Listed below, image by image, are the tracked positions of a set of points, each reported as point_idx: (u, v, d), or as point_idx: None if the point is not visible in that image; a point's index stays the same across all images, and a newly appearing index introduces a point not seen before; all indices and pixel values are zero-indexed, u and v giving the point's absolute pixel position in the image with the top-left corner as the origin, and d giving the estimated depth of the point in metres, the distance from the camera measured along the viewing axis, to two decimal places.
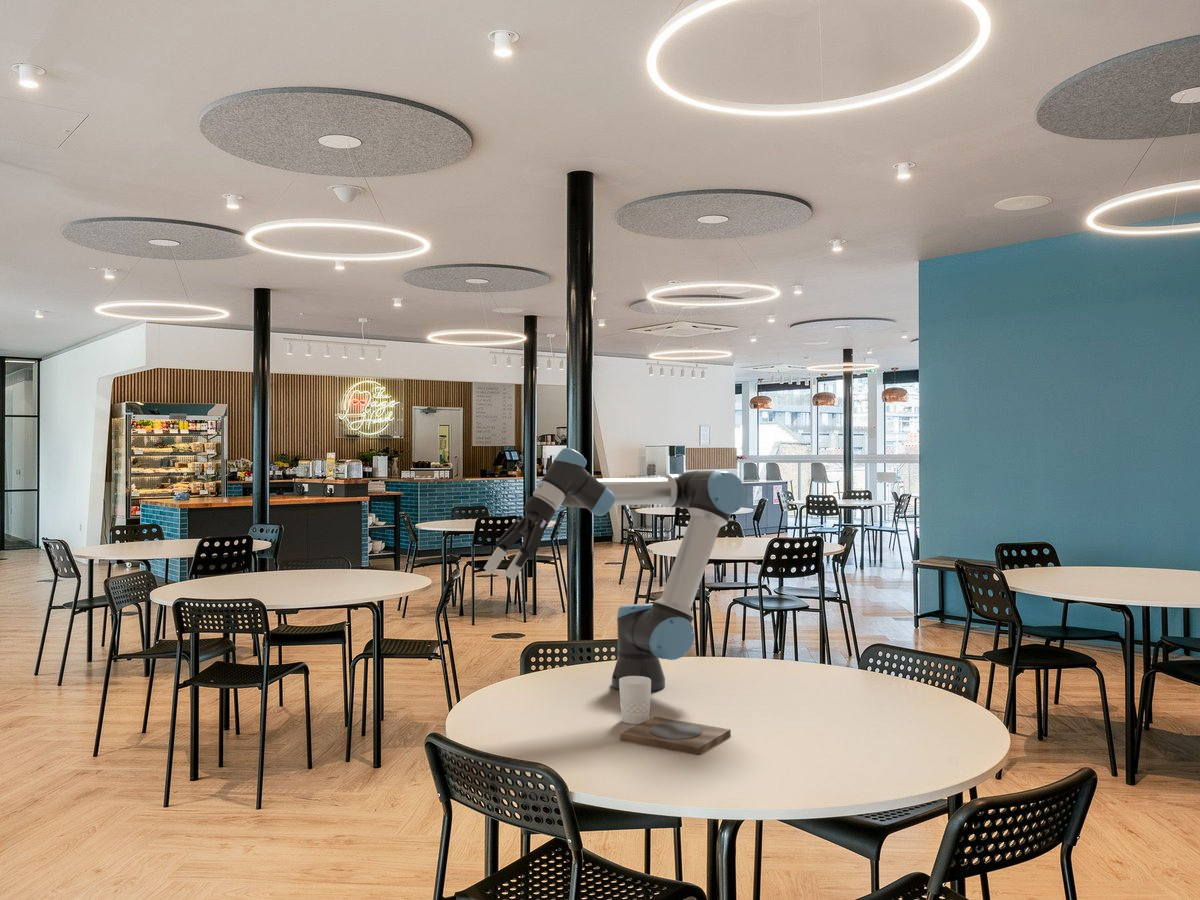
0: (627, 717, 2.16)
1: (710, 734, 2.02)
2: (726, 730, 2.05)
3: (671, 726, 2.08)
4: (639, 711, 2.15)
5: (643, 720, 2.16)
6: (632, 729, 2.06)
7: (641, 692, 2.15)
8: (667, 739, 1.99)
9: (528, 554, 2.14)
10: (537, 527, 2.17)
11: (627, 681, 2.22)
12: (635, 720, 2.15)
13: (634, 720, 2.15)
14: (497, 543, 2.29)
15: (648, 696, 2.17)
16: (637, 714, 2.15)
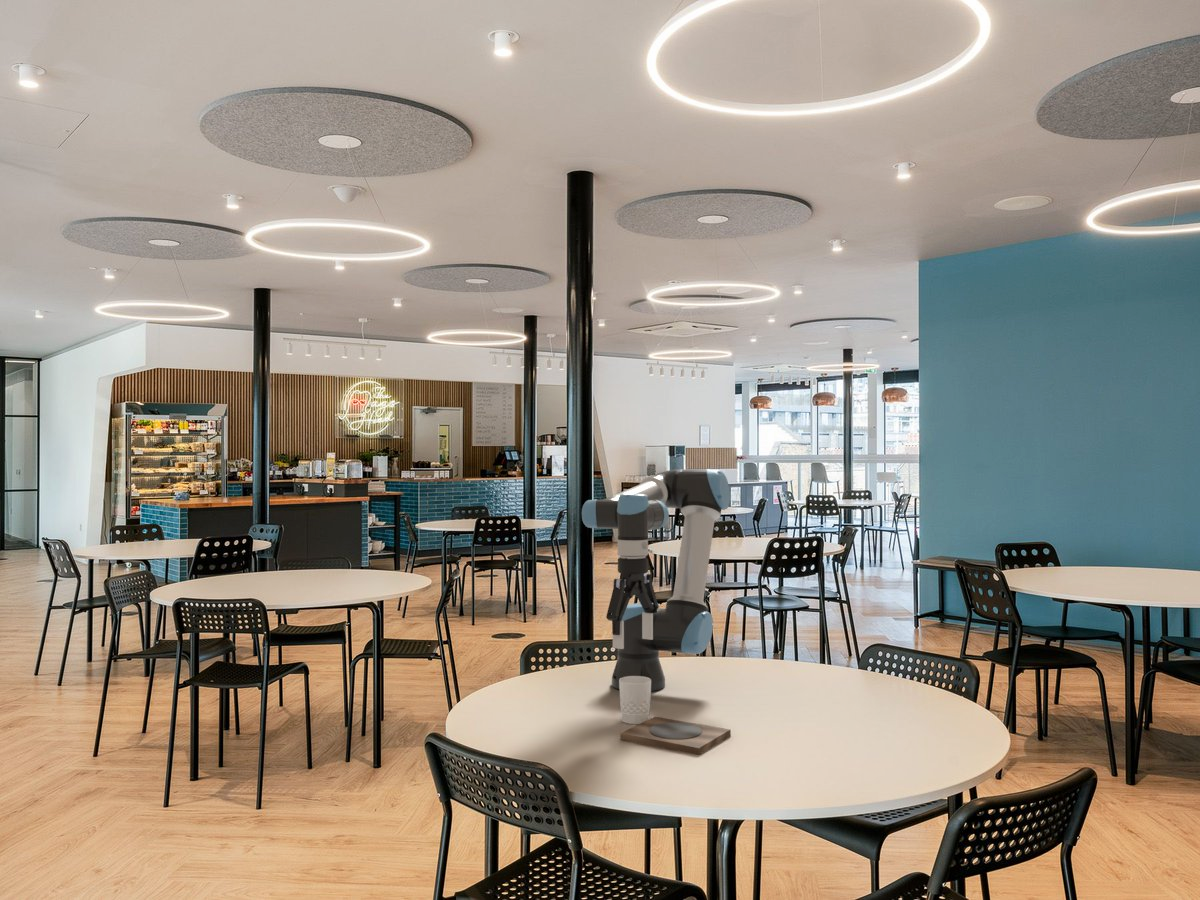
0: (627, 717, 2.16)
1: (710, 734, 2.02)
2: (726, 730, 2.05)
3: (671, 726, 2.08)
4: (639, 711, 2.15)
5: (643, 720, 2.16)
6: (632, 729, 2.06)
7: (641, 692, 2.15)
8: (667, 739, 1.99)
9: None
10: None
11: (627, 681, 2.22)
12: (635, 720, 2.15)
13: (634, 720, 2.15)
14: (616, 618, 2.11)
15: (648, 696, 2.17)
16: (637, 714, 2.15)
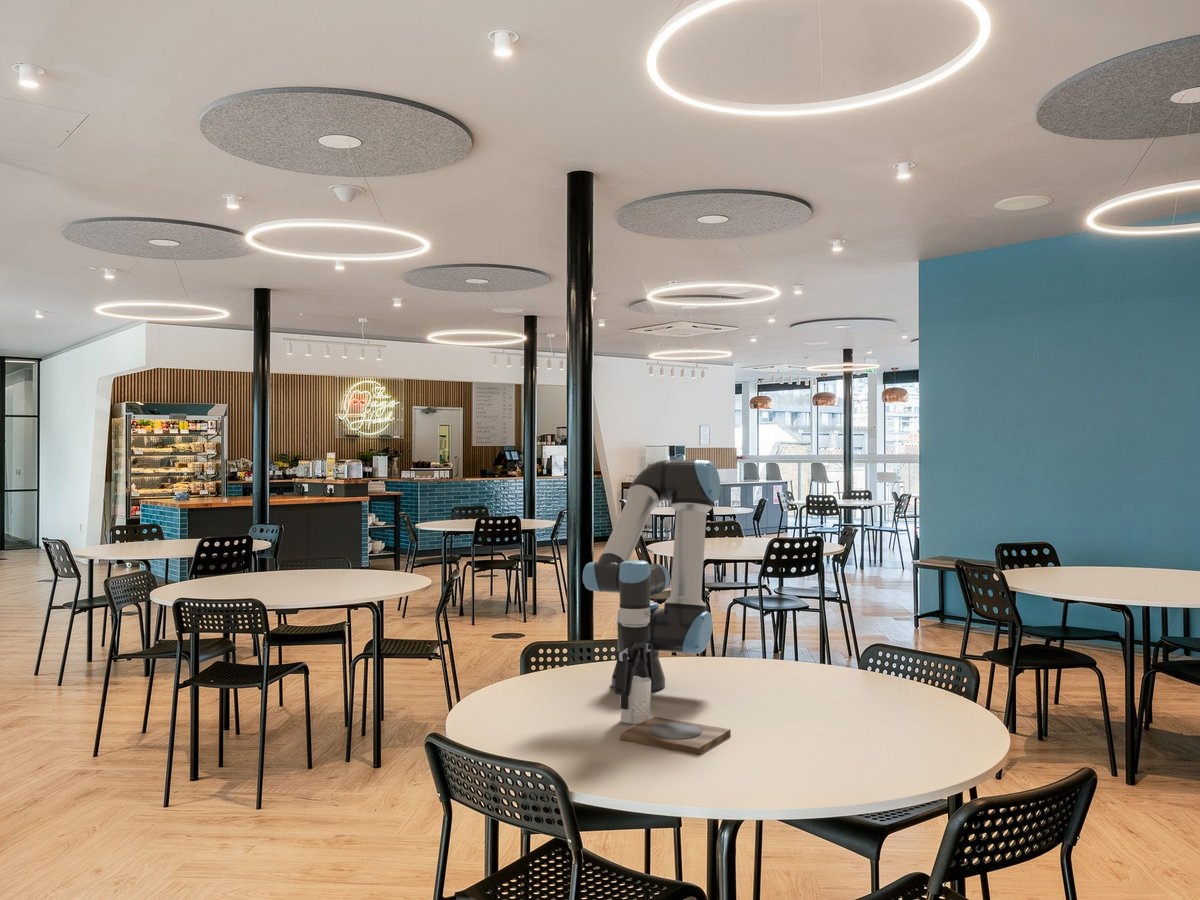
0: None
1: (710, 734, 2.02)
2: (726, 730, 2.05)
3: (671, 726, 2.08)
4: (639, 711, 2.15)
5: (643, 720, 2.16)
6: (632, 729, 2.06)
7: (641, 692, 2.15)
8: (667, 739, 1.99)
9: None
10: None
11: None
12: (635, 720, 2.15)
13: (634, 720, 2.15)
14: (625, 692, 2.13)
15: (648, 696, 2.17)
16: (637, 714, 2.15)
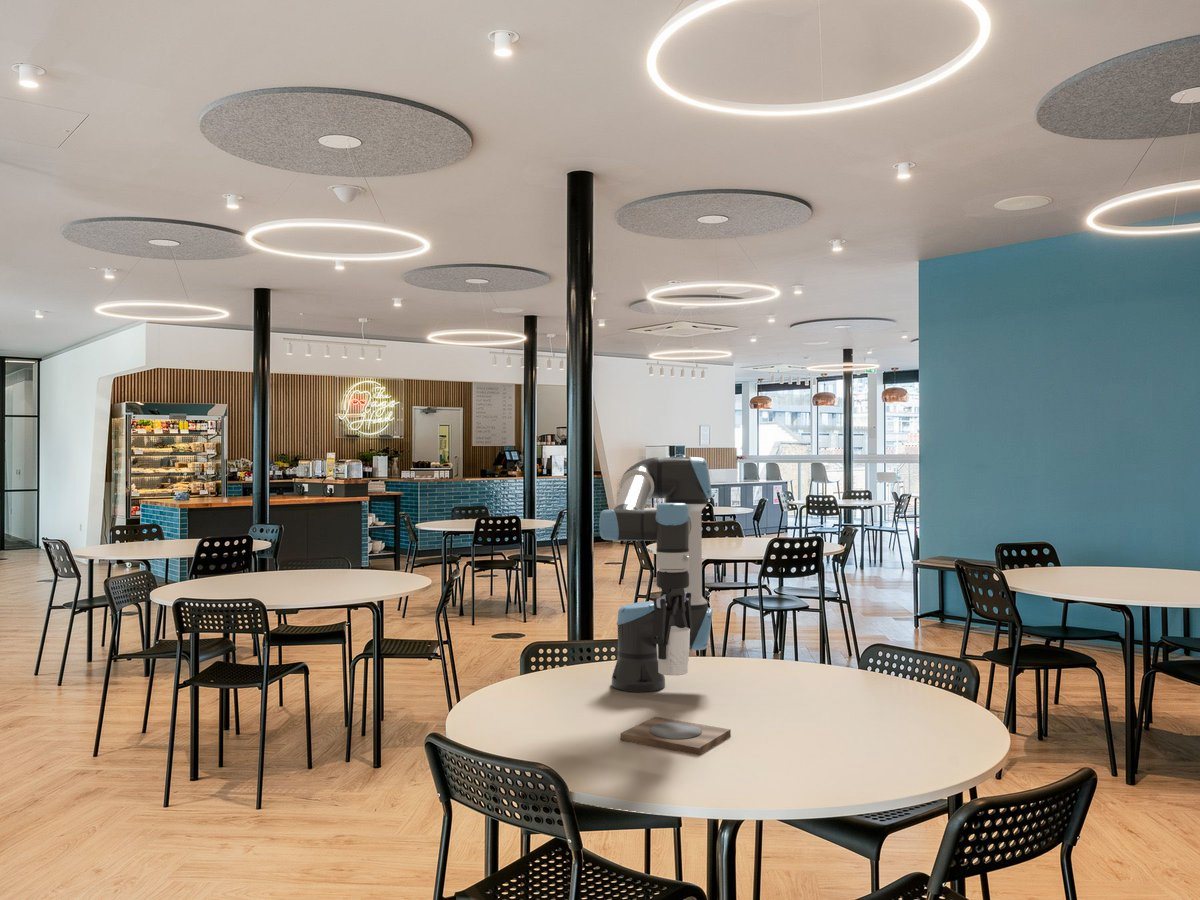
0: None
1: (710, 734, 2.02)
2: (726, 730, 2.05)
3: (671, 726, 2.08)
4: (677, 661, 2.02)
5: (682, 671, 2.02)
6: (632, 729, 2.06)
7: (680, 642, 2.02)
8: (667, 739, 1.99)
9: None
10: None
11: None
12: (674, 671, 2.02)
13: (672, 671, 2.02)
14: (663, 641, 2.00)
15: (687, 646, 2.03)
16: (675, 665, 2.02)
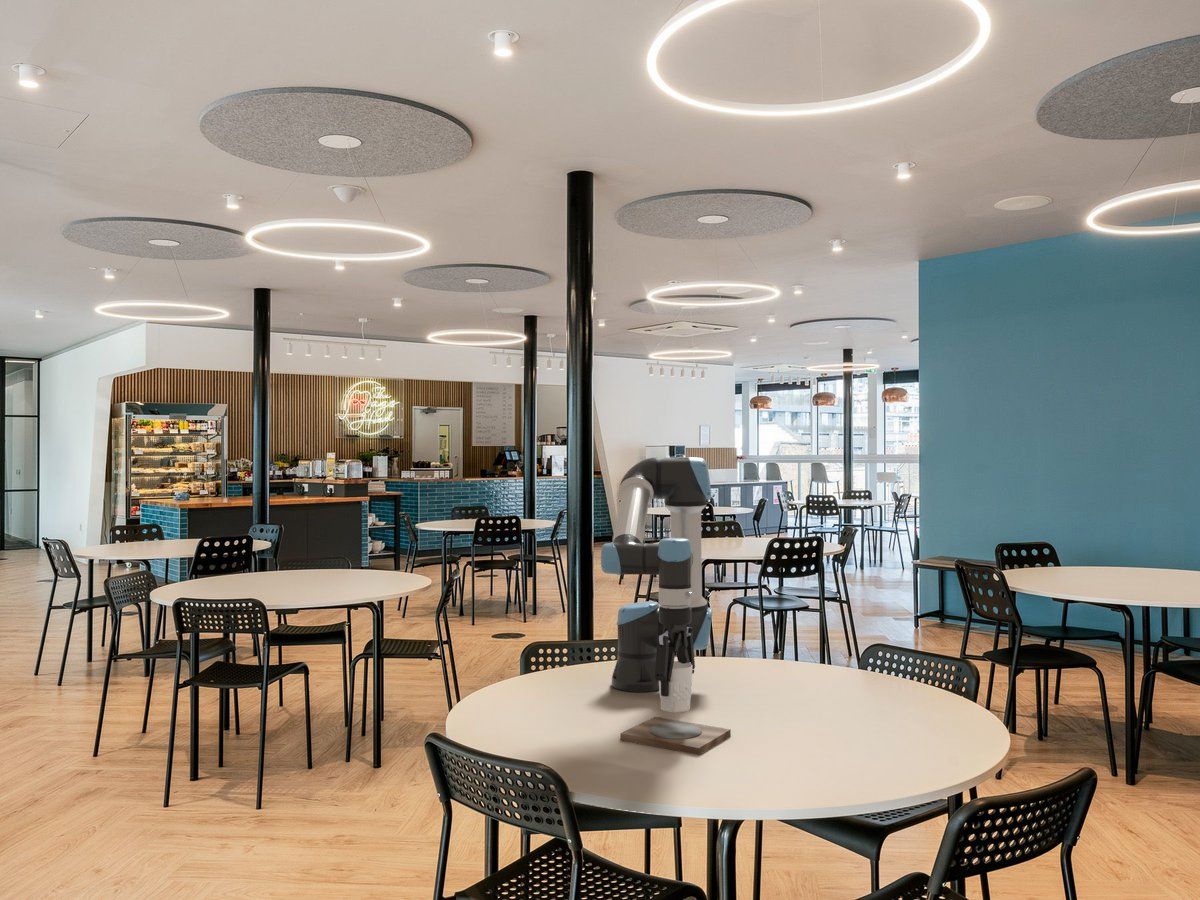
0: None
1: (710, 734, 2.02)
2: (726, 730, 2.05)
3: (671, 726, 2.08)
4: (680, 698, 2.01)
5: (684, 708, 2.02)
6: (632, 729, 2.06)
7: (683, 678, 2.01)
8: (667, 739, 1.99)
9: None
10: None
11: None
12: (676, 708, 2.01)
13: (675, 708, 2.01)
14: (666, 678, 1.99)
15: (689, 682, 2.03)
16: (678, 701, 2.01)
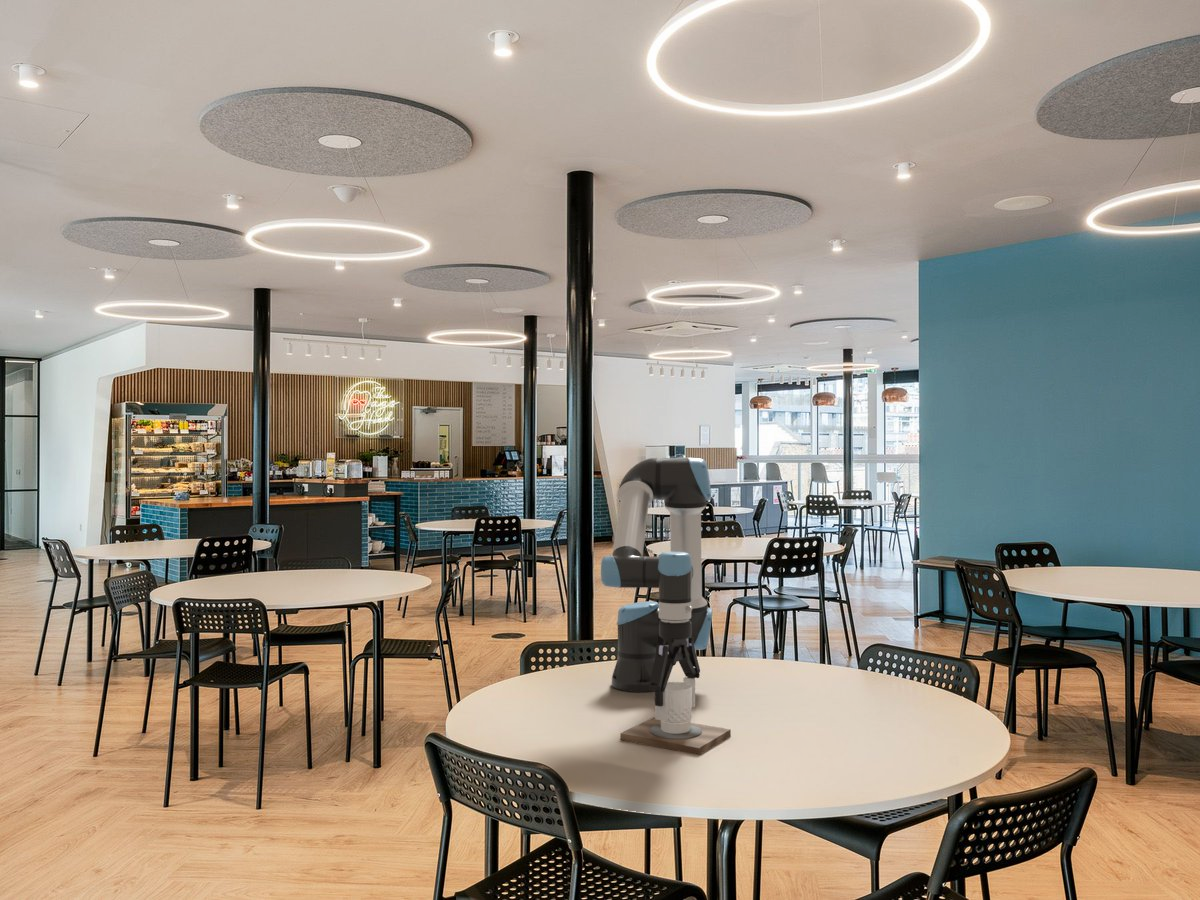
0: (667, 726, 2.02)
1: (710, 734, 2.02)
2: (726, 730, 2.05)
3: None
4: (680, 720, 2.01)
5: (684, 729, 2.02)
6: (632, 729, 2.06)
7: (683, 700, 2.01)
8: (667, 739, 1.99)
9: None
10: None
11: (666, 688, 2.08)
12: (676, 730, 2.01)
13: (675, 730, 2.01)
14: None
15: (689, 703, 2.03)
16: (678, 723, 2.01)
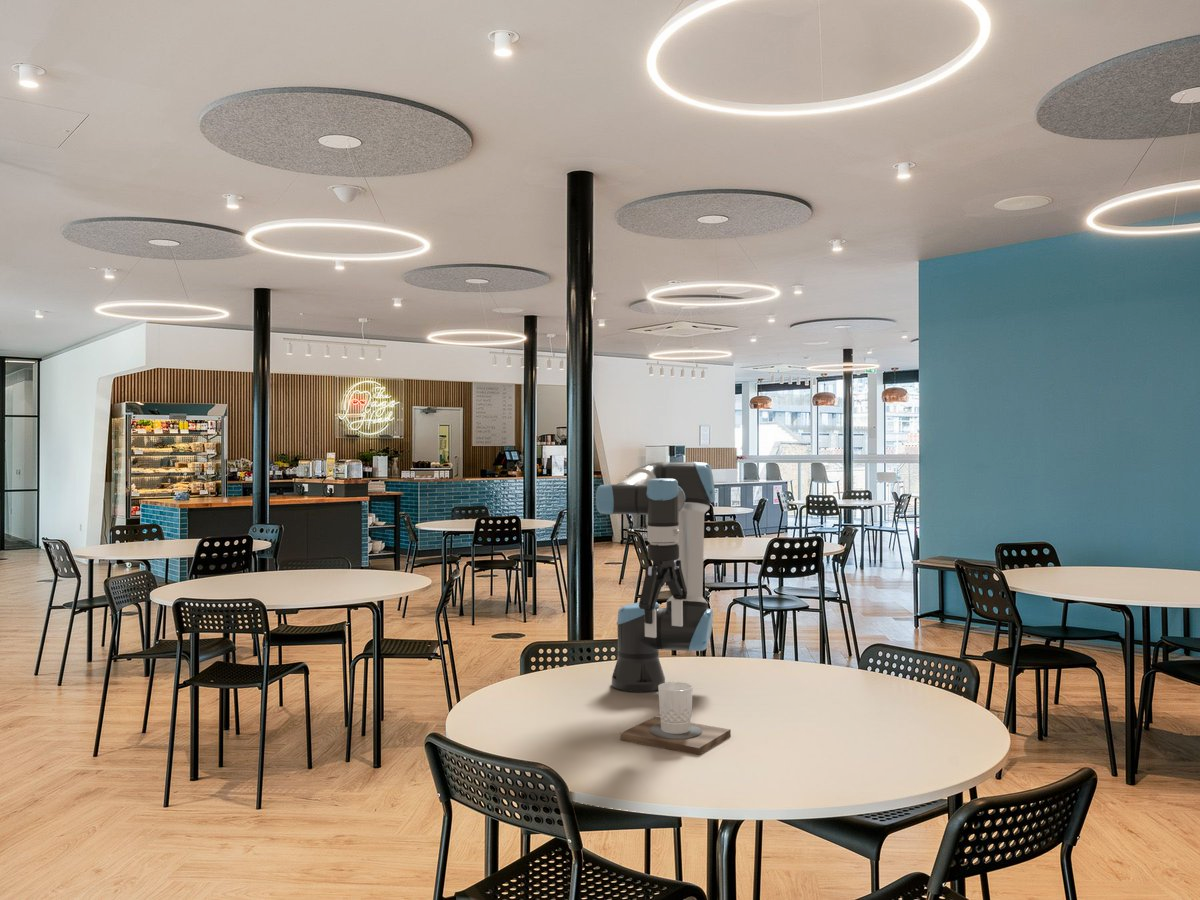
0: (667, 726, 2.02)
1: (710, 734, 2.02)
2: (726, 730, 2.05)
3: None
4: (680, 720, 2.01)
5: (684, 729, 2.02)
6: (632, 729, 2.06)
7: (683, 700, 2.01)
8: (667, 739, 1.99)
9: None
10: None
11: (666, 688, 2.08)
12: (676, 730, 2.01)
13: (675, 730, 2.01)
14: (649, 607, 2.06)
15: (690, 704, 2.03)
16: (678, 723, 2.01)
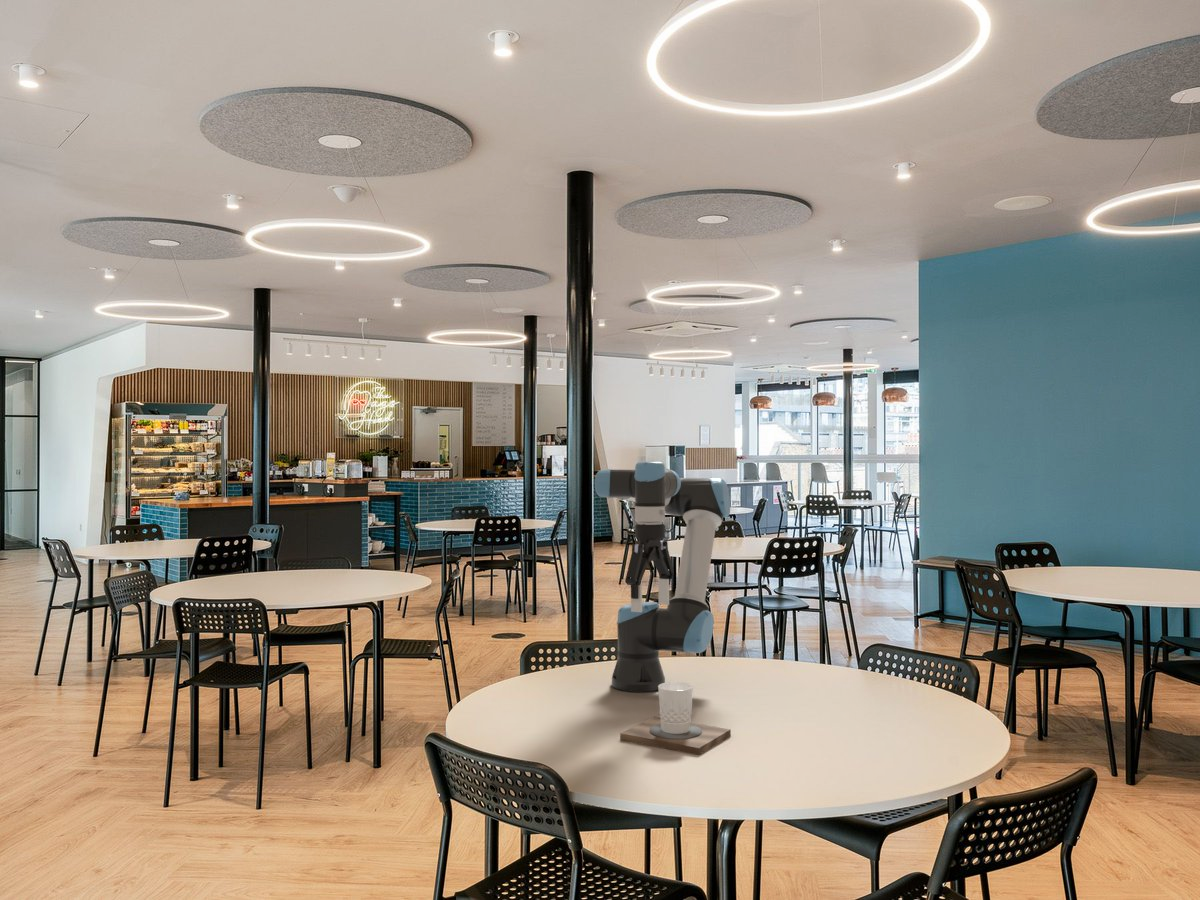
0: (667, 726, 2.02)
1: (710, 734, 2.02)
2: (726, 730, 2.05)
3: None
4: (680, 720, 2.01)
5: (684, 729, 2.02)
6: (632, 729, 2.06)
7: (683, 700, 2.01)
8: (667, 739, 1.99)
9: None
10: None
11: (666, 688, 2.08)
12: (676, 730, 2.01)
13: (675, 730, 2.01)
14: (635, 582, 2.16)
15: (690, 704, 2.03)
16: (678, 723, 2.01)
